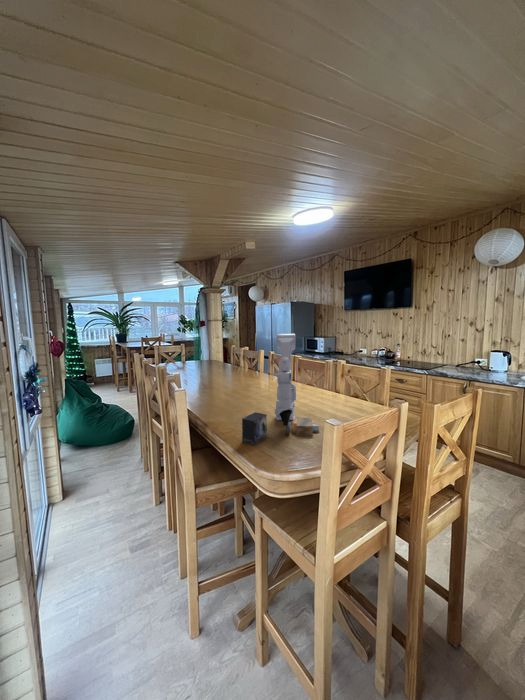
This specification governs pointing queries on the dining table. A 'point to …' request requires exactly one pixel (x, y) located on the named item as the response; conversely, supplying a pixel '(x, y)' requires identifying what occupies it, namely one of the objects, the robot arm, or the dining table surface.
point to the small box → (254, 428)
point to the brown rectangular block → (315, 426)
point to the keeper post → (287, 431)
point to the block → (304, 426)
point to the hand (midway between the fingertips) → (285, 425)
